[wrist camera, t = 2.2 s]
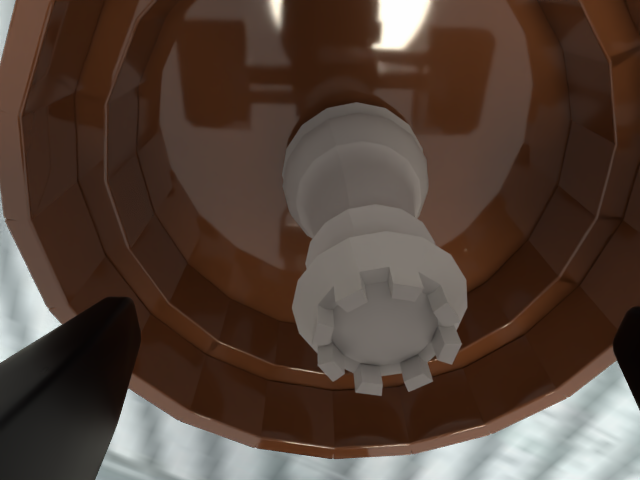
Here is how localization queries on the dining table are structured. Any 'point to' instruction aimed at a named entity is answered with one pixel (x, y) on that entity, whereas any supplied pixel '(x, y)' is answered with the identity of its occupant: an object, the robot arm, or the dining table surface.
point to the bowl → (284, 232)
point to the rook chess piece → (369, 250)
